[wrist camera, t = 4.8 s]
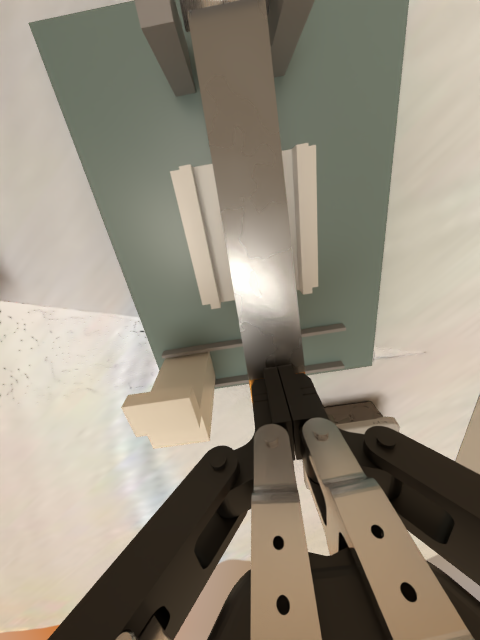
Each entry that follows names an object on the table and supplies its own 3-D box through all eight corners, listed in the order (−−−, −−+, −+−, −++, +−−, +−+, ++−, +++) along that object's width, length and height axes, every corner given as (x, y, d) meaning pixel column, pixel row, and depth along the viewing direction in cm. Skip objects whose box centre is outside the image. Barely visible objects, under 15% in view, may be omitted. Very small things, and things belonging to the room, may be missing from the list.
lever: (167, -86, 10) (143, -197, 7) (250, -105, 10) (254, -225, 7) (249, 397, 15) (251, 423, 12) (304, 389, 15) (316, 413, 12)
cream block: (159, 337, 21) (121, 407, 14) (204, 331, 21) (189, 397, 14) (174, 382, 23) (149, 462, 16) (215, 376, 23) (208, 454, 16)
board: (42, 35, 13) (-125, -116, 7) (401, -41, 13) (570, -283, 6) (171, 388, 25) (150, 451, 18) (366, 359, 24) (415, 414, 18)
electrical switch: (392, 481, 26) (314, 508, 25) (361, 441, 31) (294, 463, 30) (404, 421, 22) (311, 450, 21) (366, 385, 27) (289, 408, 26)
